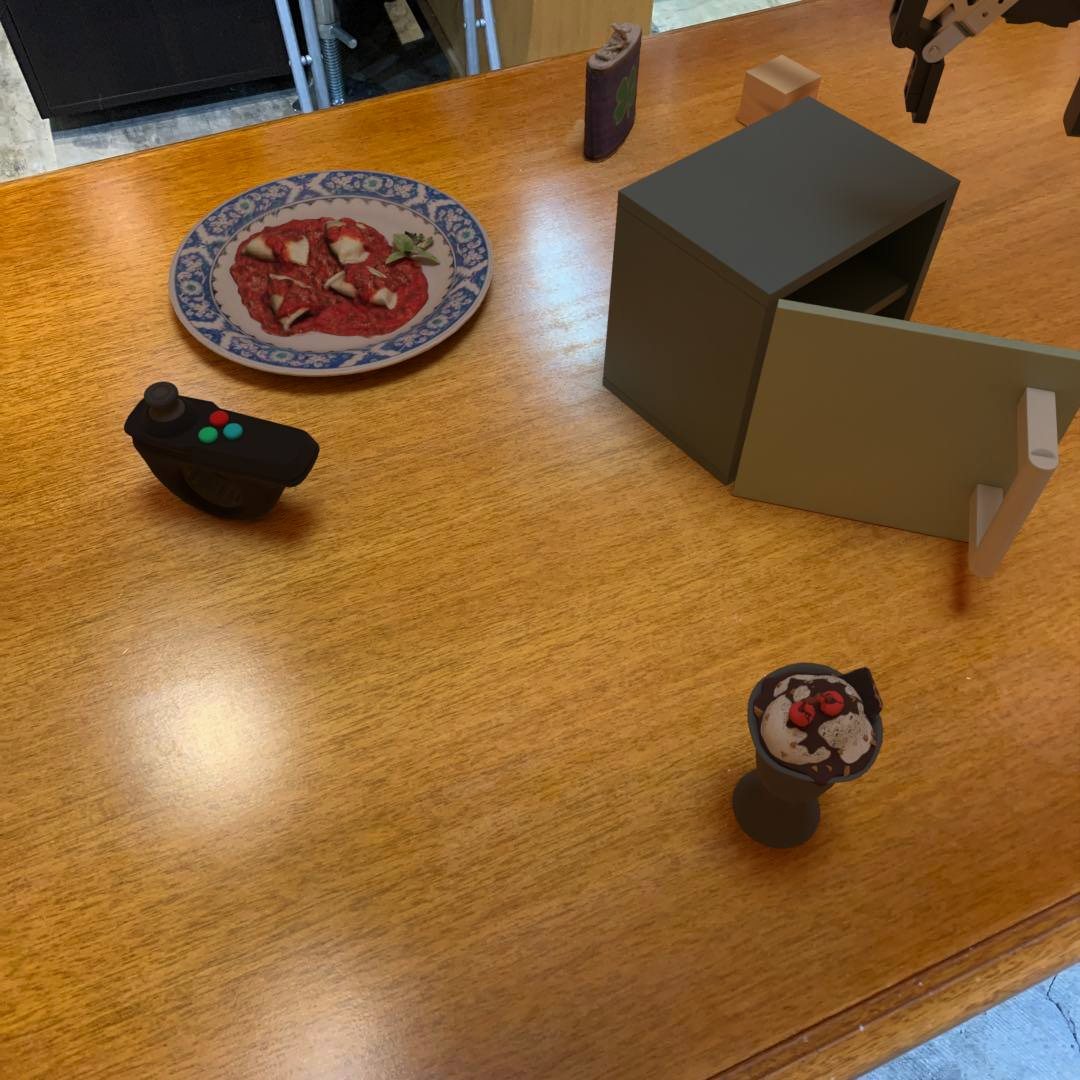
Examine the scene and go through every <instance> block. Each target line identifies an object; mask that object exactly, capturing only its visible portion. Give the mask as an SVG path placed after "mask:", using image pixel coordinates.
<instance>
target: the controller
mask: <svg viewBox="0 0 1080 1080" xmlns="http://www.w3.org/2000/svg"><path fill="white" fill-rule="evenodd" d="M179 392H180V391H179V389H178V387H177V386H176V385H175V384H174V383H173V382H170V381H157V382H154V383H152V384H149V386H148V387H147V388H146V389H145V390H144V393H143V398H142V399H140V400H139V401H138V403H136V405H135V406H134V407H133V409H132V410H131V411H130V413H129V415H128V416H127V418H126V419H125V422H124V424H123V432H124V433H125V434H126V435H128V436H129V437H131V439H132V445H133V447H134V449H135V450H136V452H137V453H138V454H139V456H140V457H141V458H142V460H143V462H145V464H146V466H148V468H149V470H150V471H151V473H152V474H153V475H154V477H155V478H156V479H157V480H158V481H159V483H160V484H161V485H162V486H163V487H164V488H166V489H167V490H168V492H170V493H171V494H173V496H175V497H176V498H178V499H179V500H180V501H182V502H183V503H185V504H186V505H189V506H190V507H192V508H193V509H195V510H197V511H199V512H202V513H204V514H206V515H208V516H212V517H214V518H216V519H222V520H226V521H227V520H228V521H238V522H239V521H241V522H243V521H251V520H255V519H259V518H261V517H263V516H265V515H267V514H269V513H270V512H271V511H272V510H273V509H274V508H275V506H276V505H277V503H278V501H279V500H280V499H281V497H282V495H283V494H284V491H285V489H287V488H289V489H290V488H296V487H298V486H299V485H301V484H302V483H303V482H304V481H305V480H306V479H307V477H308V476H309V474H310V473H311V471H312V470H313V468H314V465H315V464H316V462H317V460H318V458H319V454H320V448H321V447H320V445H319V443H318V442H317V440H315V439H314V437H312V436H311V434H310V433H309V432H307V431H306V430H305V429H301V428H298V427H294V426H291V425H287V424H284V423H279V422H275V421H271V420H268V419H263V418H260V417H256V416H251V415H248V414H244V413H240V412H237V411H234V410H233V411H232V410H228V409H225V408H221V407H219V406H218V405H217V404H216V403H215V402H214V401H211V400H208V399H207V400H206V399H201V398H196V397H190V396H185V395H181V394H179Z"/></svg>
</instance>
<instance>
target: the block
mask: <svg viewBox="0 0 1080 1080" xmlns="http://www.w3.org/2000/svg"><path fill="white" fill-rule="evenodd" d="M821 81H822V75H821V74H819V73H817V72H816V71H813V70H811V69H809V68H807V66H804V65H802V64H800V63H798V62H797V61H794V60H793V59H791V58H789V57H788V56H785V55H784V54H780V55H778V56H776V57H774V58H771V59H769V60H768V61H765V62H763V63H761V64H759V65H756V66H754V67H753V68H750V69H748V70H746V71H745V74H744V80H743V87H742V92H741V98H740V104H739V109H738V115H737V122H739V123H741V124H742V125H744V126H745V127H747V126H749V125H751V124H753V123H755V122H757V121H759V120H761V119H763V118H765V117H767V116H769V115H771V114H773V113H775V112H777V111H779V110H781V109H783V108H785V107H787V106H789V105H791V104H793V103H795V102H797V101H799V100H801V99H803V98H805V97H807V96H810V97H812V98H814V99H815V100H818V99H817V98H818V94H819V89H820V87H821Z"/></svg>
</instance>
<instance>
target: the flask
mask: <svg viewBox="0 0 1080 1080" xmlns="http://www.w3.org/2000/svg"><path fill="white" fill-rule="evenodd" d="M608 26H609V27H611V28H613V30H614V31H613V32H612V34H611V35H610V37H609V39H608V41H607V43H605V45H604V46H603V47H602V48H600V50H596V51H595V53H594V54H591V55H590V56H589V58H587V61H586V66H585V85H584V86H585V88H584V89H585V92H584V93H585V94H584V98H585V99H584V102H585V103H584V104H585V105H584V120H583V121H584V128H583V150H582V156H583V158H584V160H585V161H589V162H592V163H600V162H602V161H606V160H607V159H609V158H610V157H611V156H613V155H614V153H616V152H617V151H618V149H620V148H621V147H622V145H623V143H625V141H626V139H627V138H628V136H629V133H630V132H631V130H632V129H633V126H634V124H635V120H636V111H637V110H636V105H637V97H638V81H639V69H640V63H641V62H640V60H641V59H640V57H641V56H640V55H641V48H642V36H643V29H642V27H641V25H638V24H637V23H632V22H621V23H620V24H618V22H616V21H615V22H613V23H609V25H608Z"/></svg>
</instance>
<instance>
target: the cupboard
mask: <svg viewBox="0 0 1080 1080" xmlns="http://www.w3.org/2000/svg"><path fill="white" fill-rule="evenodd" d="M961 182H962V180H961V179H958V178H957V177H955V176H953V175H952V174H949V173H948V172H946V171H944V170H943V169H941V168H939V167H937V166H936V165H933V164H932V163H930V162H928V161H926V160H924V159H923V158H921V157H919V156H918V155H915V154H914V153H912V152H910V151H908V150H907V149H905V148H903V147H901V146H899V145H898V144H896V143H894V142H892V141H890V140H889V139H887V138H886V137H884V136H881V135H880V134H878V133H876V132H875V131H873V130H871V129H869V128H867V127H866V126H864V125H862V124H860V123H858V122H857V121H855V120H853V119H852V118H849V117H847V116H846V115H844V114H842V113H840V112H839V111H838V110H835V109H833V108H831V107H830V106H828V105H826V104H824V103H823V102H820V101H819V100H818V99H816V100H815V99H814V98H812V97H810V96H807V97H805V98H803V99H801V100H799V101H797V102H795V103H793V104H791V105H789V106H787V107H785V108H783V109H781V110H779V111H777V112H775V113H773V114H771V115H769V116H767V117H765V118H763V119H761V120H759V121H757V122H755V123H753V124H751V125H749V126H745V127H743V128H741V129H738V130H737V131H734V132H733V133H731V134H728V135H727V136H725V137H722V138H721V139H718V140H716V141H715V142H713V143H711V144H708V145H707V146H704V147H703V148H700V149H699V150H697V151H694V152H692V153H691V154H689V155H687V156H685V157H683V158H680V159H678V160H677V161H675V162H673V163H671V164H668V165H667V166H665V167H663V168H661V169H659V170H656V171H655V172H652V173H651V174H649V175H646V176H644V177H642V178H640V179H639V180H637V181H634V182H632V183H630V184H629V185H627V186H624V187H622V188H620V189H618V191H617V200H616V201H617V202H616V203H617V205H616V206H617V207H616V214H615V215H616V217H615V226H614V227H615V228H614V239H613V252H612V263H611V264H612V265H611V276H610V278H611V279H610V287H609V288H610V289H609V301H608V313H607V323H606V335H605V336H606V337H605V348H604V362H603V373H602V376H603V377H602V381H601V382H602V383H601V385H602V387H604V389H606V390H607V391H608V392H610V393H611V394H612V395H613V396H614V397H616V399H618V400H619V401H621V402H622V403H623V404H624V405H626V406H627V407H628V408H629V409H630V410H632V411H633V413H635V414H637V416H639V417H640V418H641V419H643V420H644V421H646V423H647V424H648V425H650V426H651V427H653V428H654V429H655V430H656V431H657V432H658V433H660V434H661V435H662V436H663V437H664V438H666V439H667V440H668V441H669V442H670V443H672V444H673V445H674V446H676V447H677V448H678V449H679V450H681V451H682V452H683V453H684V454H685V455H686V456H688V457H689V458H690V459H691V460H692V461H694V462H695V463H696V464H698V465H699V466H700V467H701V468H703V470H705V471H706V472H708V473H709V474H710V475H711V476H712V477H714V479H716V480H717V481H719V483H721V484H722V485H723V486H725V487H727V486H729V485H730V484H732V483H734V482H735V480H736V475H737V471H738V467H739V463H740V459H741V454H742V450H743V446H744V442H745V438H746V434H747V429H748V425H749V421H750V417H751V413H752V408H753V404H754V400H755V396H756V392H757V388H758V383H759V379H760V375H761V371H762V367H763V362H764V358H765V354H766V350H767V346H768V342H769V337H770V333H771V329H772V325H773V321H774V316H775V312H776V308H777V304H778V300H779V299H783V300H789V301H795V302H800V303H806V304H812V305H818V306H824V307H829V308H835V309H841V310H847V311H852V312H858V313H864V314H870V315H876V316H881V317H887V318H893V319H899V320H904V321H910V322H911V319H912V317H913V314H914V310H915V307H916V305H917V302H918V300H919V297H920V294H921V291H922V288H923V287H924V283H925V280H926V278H927V275H928V272H929V270H930V266H931V264H932V261H933V258H934V255H935V253H936V251H937V247H938V245H939V242H940V239H941V237H942V234H943V231H944V228H945V226H946V224H947V220H948V218H949V215H950V212H951V209H952V207H953V204H954V201H955V199H956V196H957V193H958V191H959V188H960V184H961Z"/></svg>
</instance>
